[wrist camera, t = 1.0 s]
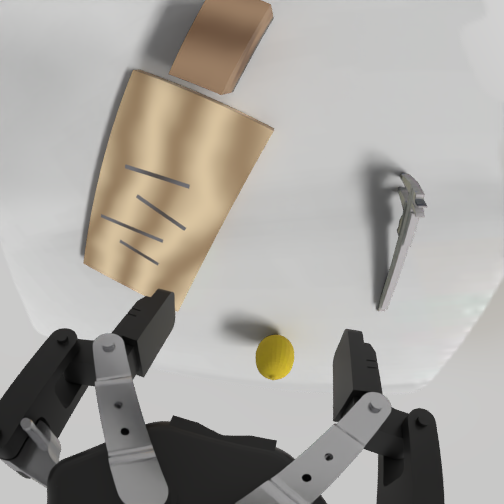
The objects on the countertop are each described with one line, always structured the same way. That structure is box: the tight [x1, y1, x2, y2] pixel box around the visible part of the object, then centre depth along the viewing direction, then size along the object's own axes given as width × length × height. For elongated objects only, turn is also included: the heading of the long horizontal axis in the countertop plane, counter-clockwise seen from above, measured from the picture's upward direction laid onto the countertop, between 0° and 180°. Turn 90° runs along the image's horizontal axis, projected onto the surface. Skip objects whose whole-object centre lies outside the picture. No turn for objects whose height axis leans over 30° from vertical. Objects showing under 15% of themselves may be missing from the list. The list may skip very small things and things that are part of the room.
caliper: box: [378, 174, 427, 311], centre depth 32 cm, size 20×1×6 cm, turn 5°
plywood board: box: [84, 70, 274, 311], centre depth 34 cm, size 16×28×2 cm, turn 153°
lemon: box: [256, 335, 294, 380], centre depth 41 cm, size 6×6×8 cm
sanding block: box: [169, 0, 273, 95], centre depth 22 cm, size 9×5×6 cm, turn 154°
